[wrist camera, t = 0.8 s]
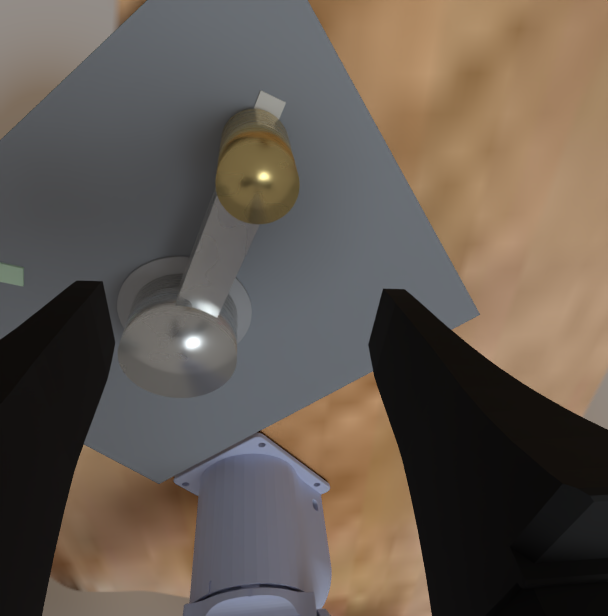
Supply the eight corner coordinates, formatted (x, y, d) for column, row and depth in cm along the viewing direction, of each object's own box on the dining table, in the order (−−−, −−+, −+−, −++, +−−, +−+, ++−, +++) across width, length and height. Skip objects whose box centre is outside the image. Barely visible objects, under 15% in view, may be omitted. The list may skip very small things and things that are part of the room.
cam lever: (218, 363, 24) (214, 424, 20) (121, 339, 22) (101, 401, 19) (328, 140, 17) (347, 180, 14) (202, 80, 15) (191, 110, 12)
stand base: (471, 301, 25) (481, 316, 24) (161, 468, 32) (158, 486, 30) (251, -96, 14) (252, -101, 13) (-157, 291, 20) (-180, 310, 19)
